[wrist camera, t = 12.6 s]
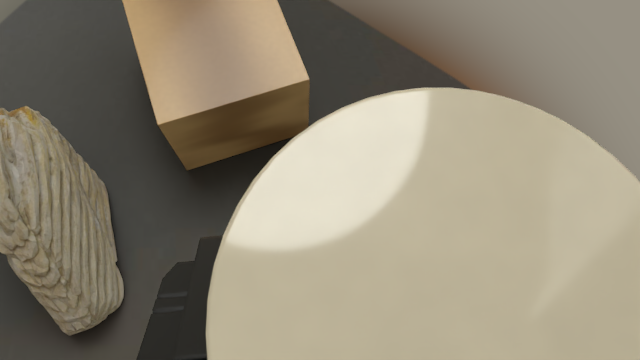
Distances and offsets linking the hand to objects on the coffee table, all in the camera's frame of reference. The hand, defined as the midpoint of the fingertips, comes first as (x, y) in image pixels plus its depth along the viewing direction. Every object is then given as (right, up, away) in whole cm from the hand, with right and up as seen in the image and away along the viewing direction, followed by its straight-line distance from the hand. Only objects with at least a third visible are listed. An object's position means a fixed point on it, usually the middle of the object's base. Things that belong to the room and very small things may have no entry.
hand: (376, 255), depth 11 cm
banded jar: (0, -3, +4) cm, 5 cm away
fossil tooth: (-19, -2, +24) cm, 31 cm away
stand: (-9, +9, +29) cm, 31 cm away
